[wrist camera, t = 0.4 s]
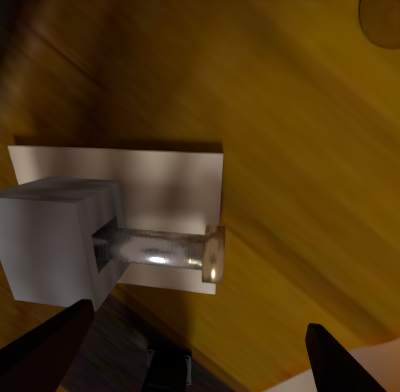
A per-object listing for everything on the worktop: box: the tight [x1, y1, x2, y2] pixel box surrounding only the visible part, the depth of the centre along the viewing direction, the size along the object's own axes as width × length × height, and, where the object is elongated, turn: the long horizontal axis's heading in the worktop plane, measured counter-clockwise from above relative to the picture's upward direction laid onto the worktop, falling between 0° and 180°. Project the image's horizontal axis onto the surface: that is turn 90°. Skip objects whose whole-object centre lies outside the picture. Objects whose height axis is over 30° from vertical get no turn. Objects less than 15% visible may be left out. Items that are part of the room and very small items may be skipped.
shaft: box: [91, 225, 225, 285], centre depth 18 cm, size 13×5×5 cm, turn 89°
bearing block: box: [0, 145, 223, 311], centre depth 19 cm, size 22×16×7 cm
